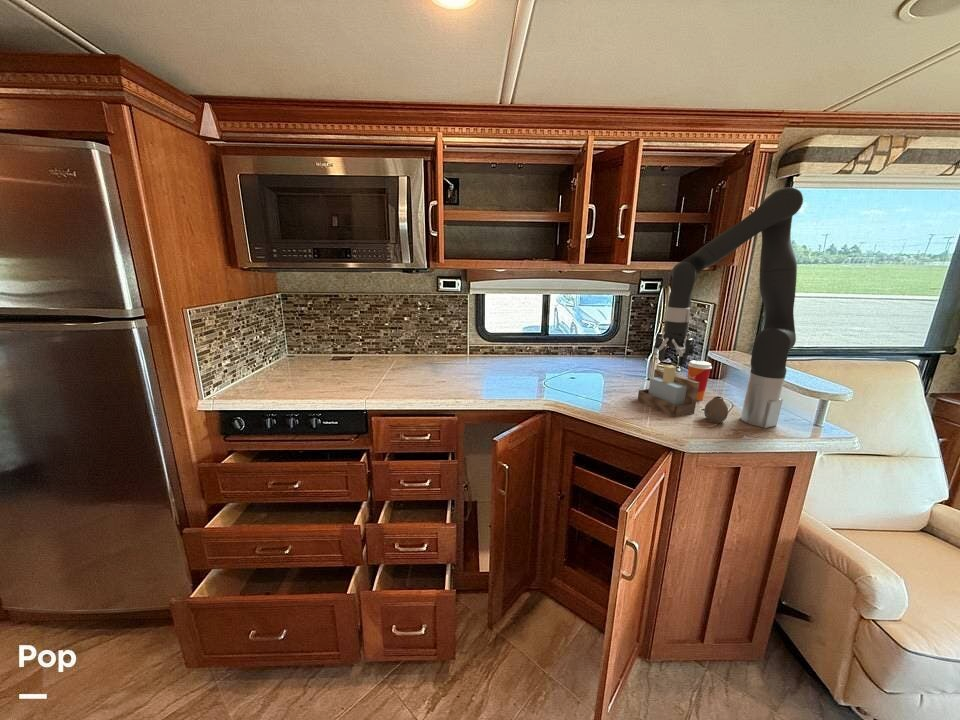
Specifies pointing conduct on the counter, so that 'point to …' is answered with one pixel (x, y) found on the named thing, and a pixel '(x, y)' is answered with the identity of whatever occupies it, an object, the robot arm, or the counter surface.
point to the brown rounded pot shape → (716, 410)
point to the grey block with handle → (668, 387)
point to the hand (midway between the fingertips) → (670, 363)
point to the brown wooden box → (668, 407)
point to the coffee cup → (699, 375)
